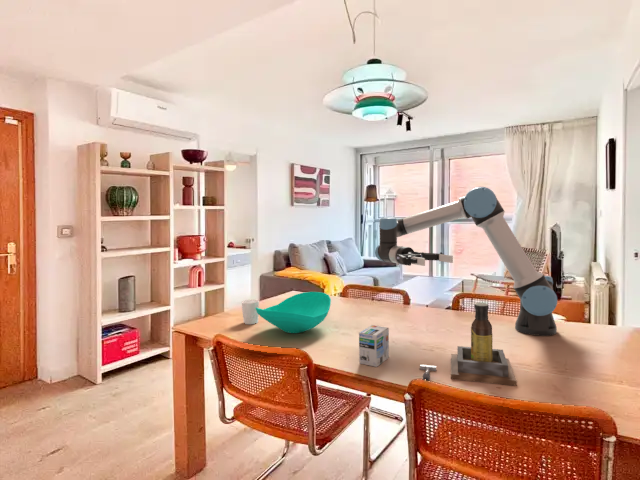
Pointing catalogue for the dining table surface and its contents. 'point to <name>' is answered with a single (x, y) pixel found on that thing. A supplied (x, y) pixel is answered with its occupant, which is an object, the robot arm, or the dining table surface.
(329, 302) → the table top decor
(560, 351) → the dining table surface
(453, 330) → the dining table surface
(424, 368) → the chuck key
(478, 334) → the sauce bottle
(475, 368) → the grey square tray
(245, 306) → the white cup
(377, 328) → the light bulb box
